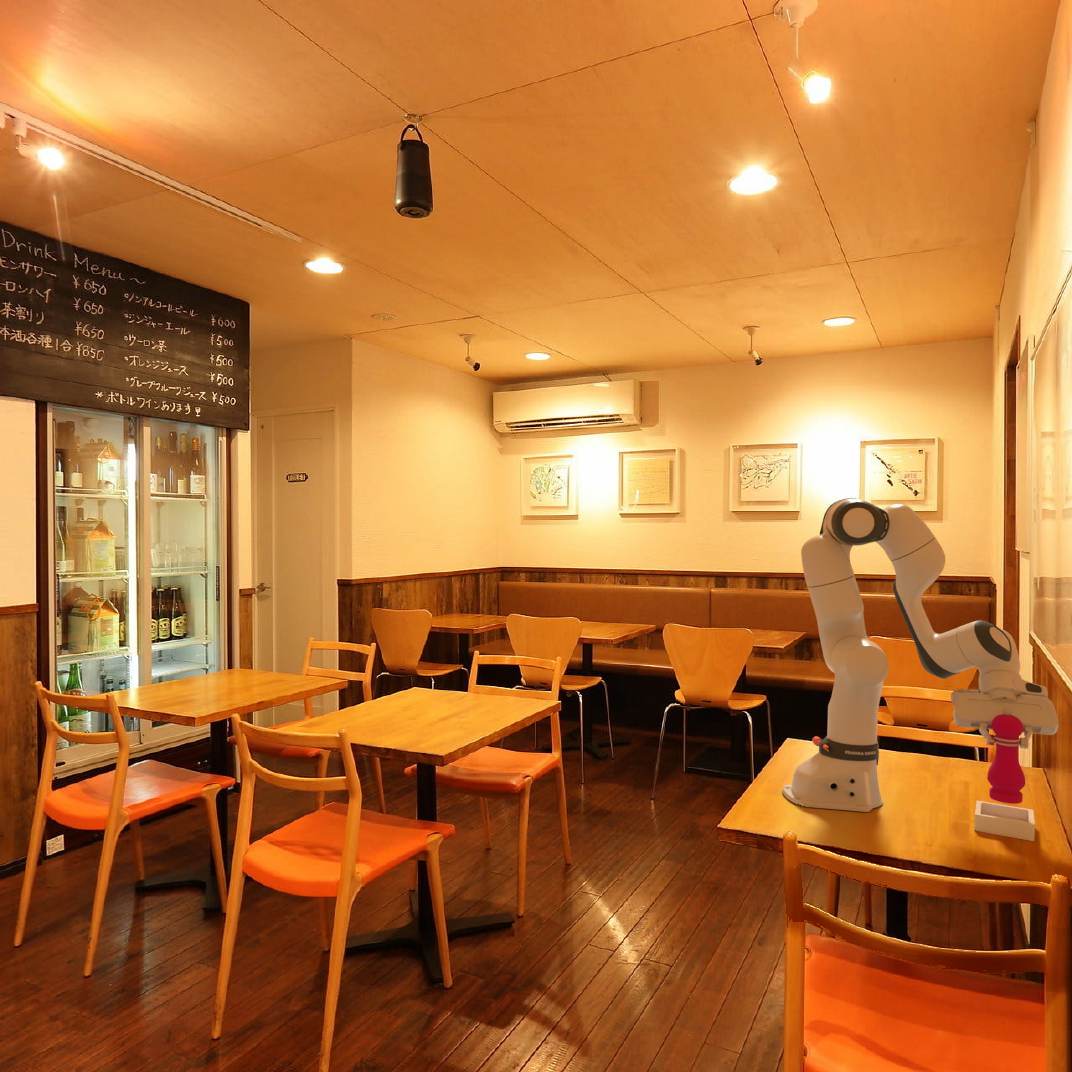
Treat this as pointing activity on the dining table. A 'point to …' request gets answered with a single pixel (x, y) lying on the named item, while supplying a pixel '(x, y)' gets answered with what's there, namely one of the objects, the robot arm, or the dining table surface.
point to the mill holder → (1005, 820)
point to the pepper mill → (1006, 760)
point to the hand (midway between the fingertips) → (1007, 745)
